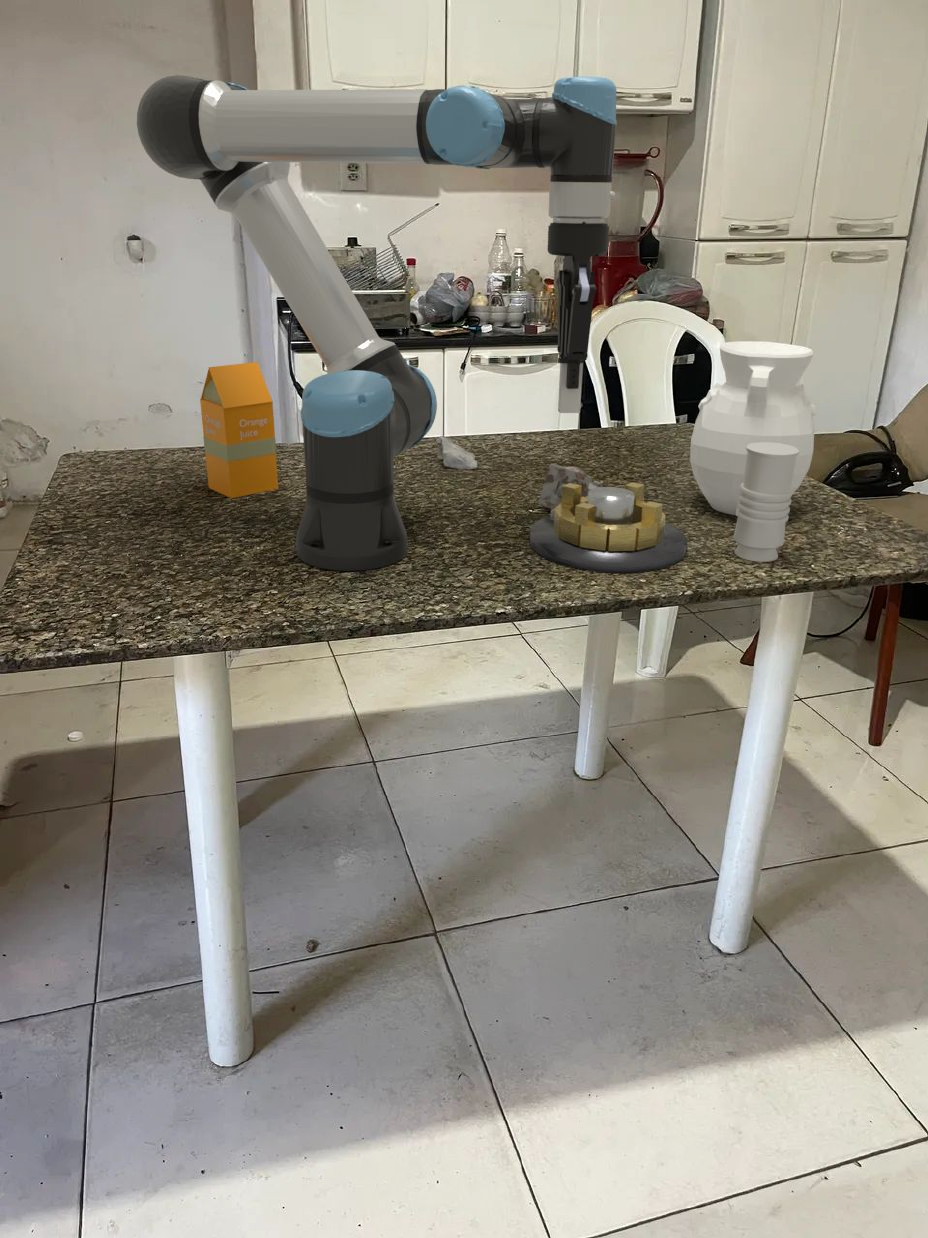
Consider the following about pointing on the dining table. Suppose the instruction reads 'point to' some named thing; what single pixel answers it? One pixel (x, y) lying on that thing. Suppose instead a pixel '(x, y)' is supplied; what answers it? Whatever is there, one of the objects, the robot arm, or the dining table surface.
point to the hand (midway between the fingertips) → (568, 411)
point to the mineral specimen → (455, 455)
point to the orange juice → (238, 431)
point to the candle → (764, 500)
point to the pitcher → (751, 417)
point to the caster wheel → (561, 477)
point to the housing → (610, 510)
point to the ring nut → (580, 527)
